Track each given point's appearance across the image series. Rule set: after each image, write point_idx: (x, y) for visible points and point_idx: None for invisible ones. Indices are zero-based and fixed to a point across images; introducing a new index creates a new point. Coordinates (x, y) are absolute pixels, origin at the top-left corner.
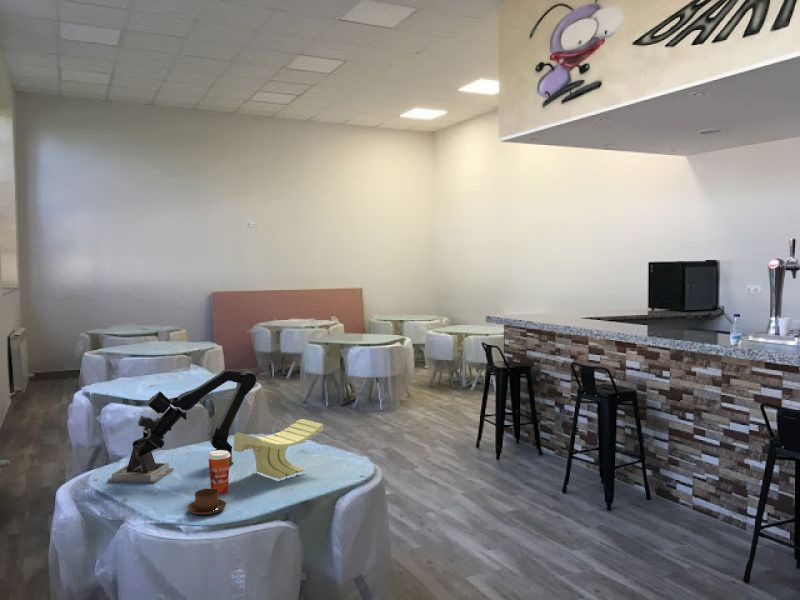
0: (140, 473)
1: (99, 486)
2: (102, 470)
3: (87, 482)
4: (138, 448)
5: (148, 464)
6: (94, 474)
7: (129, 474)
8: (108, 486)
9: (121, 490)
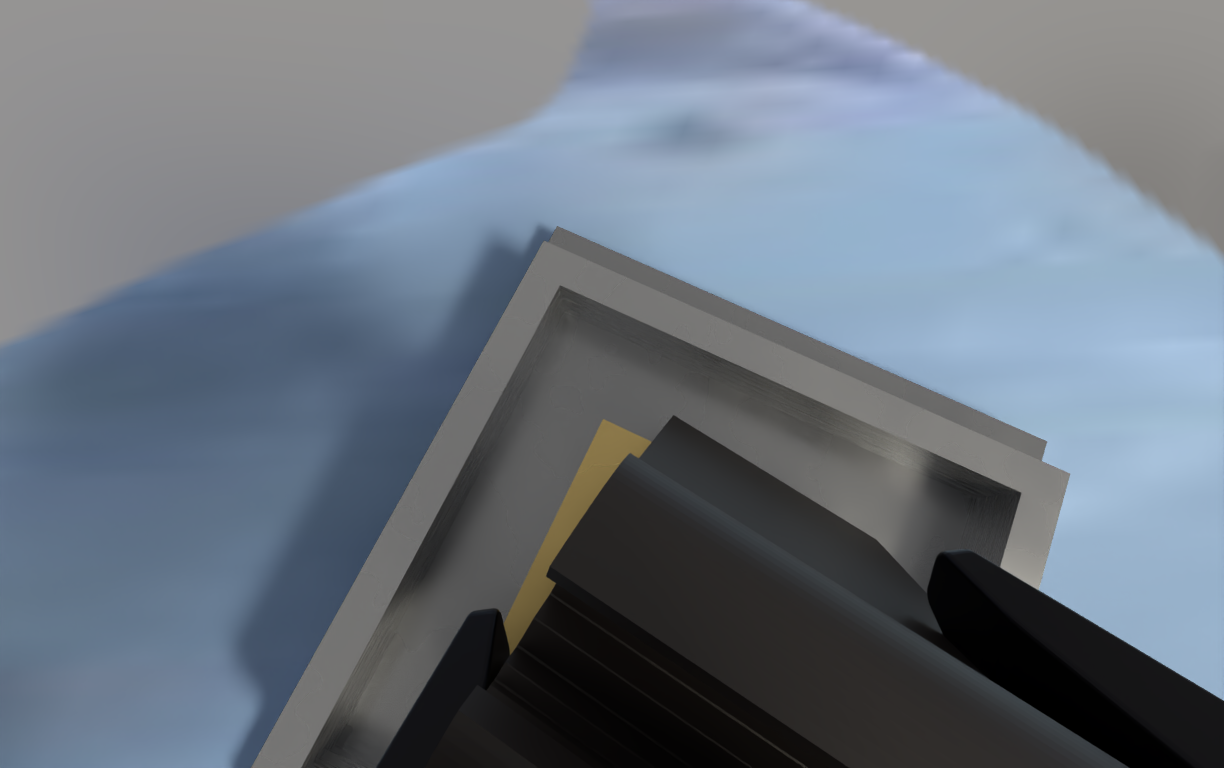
0: None
1: (444, 179)
2: (1025, 171)
3: (629, 71)
4: (499, 678)
5: None
6: (892, 110)
7: (422, 463)
8: (405, 261)
9: (188, 398)
